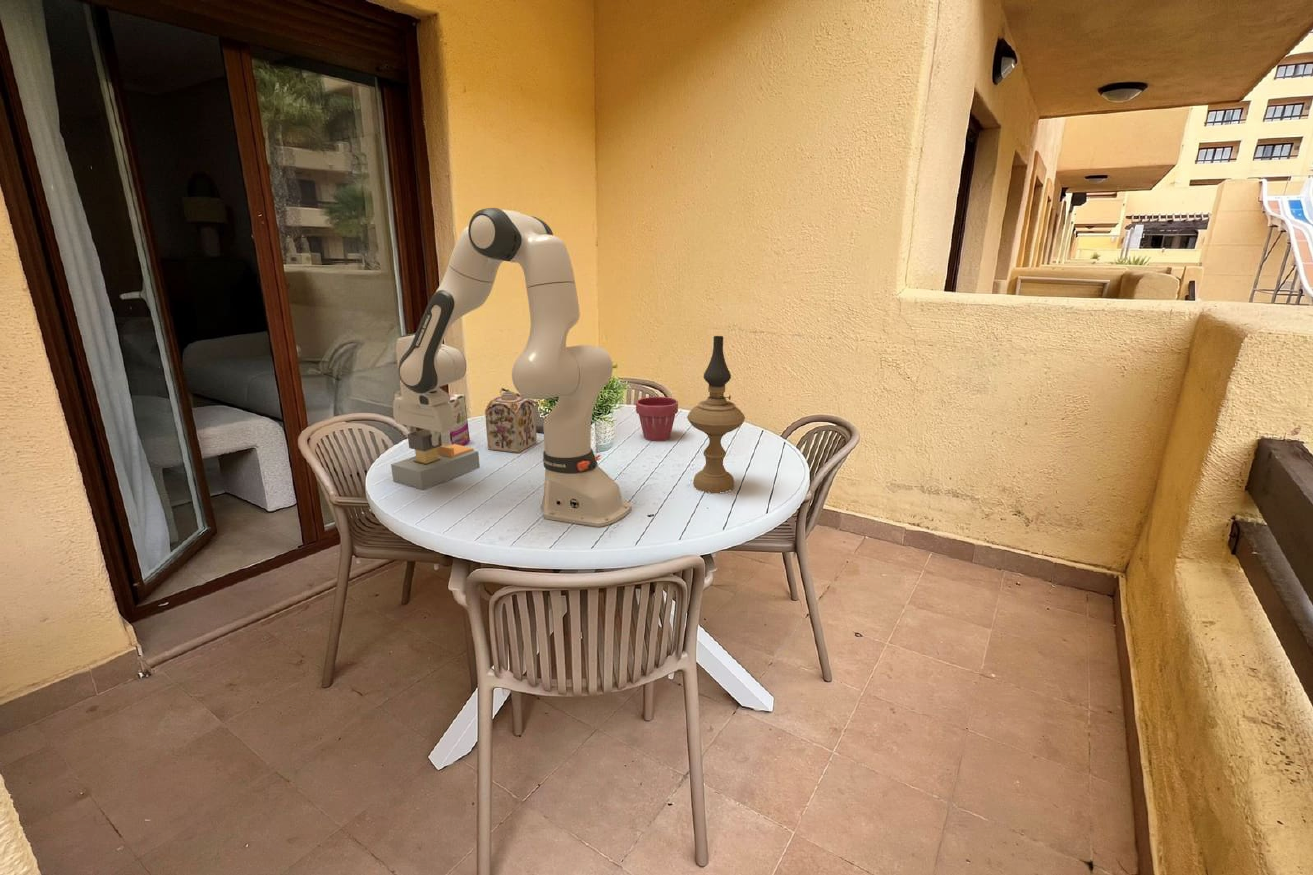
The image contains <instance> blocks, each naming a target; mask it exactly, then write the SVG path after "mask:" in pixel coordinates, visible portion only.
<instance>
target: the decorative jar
mask: <svg viewBox="0 0 1313 875" xmlns="http://www.w3.org/2000/svg"><path fill="white" fill-rule="evenodd" d="M516 393H517V392H516V391H512V392H505V391H502V392H500V396H496V397H494V398H491V399H490V400H489V402H488V403H487V406H486V408H485V409H484V416H485V428H486V430H485V431H486V440H487V449H488V450H490V451H496V452H498V451H499V452H507V453H514V454H519V453H521V452H523V451H525V450H527V449H529V448H531V447H532V446H533V445H536V444H537V442H538V440H537V431H536V420H535V404H534V403H532V402H531V401H530V400H529V399H527V398H525V397H523V396H522V395H521V396H517V395H516Z"/></svg>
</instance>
